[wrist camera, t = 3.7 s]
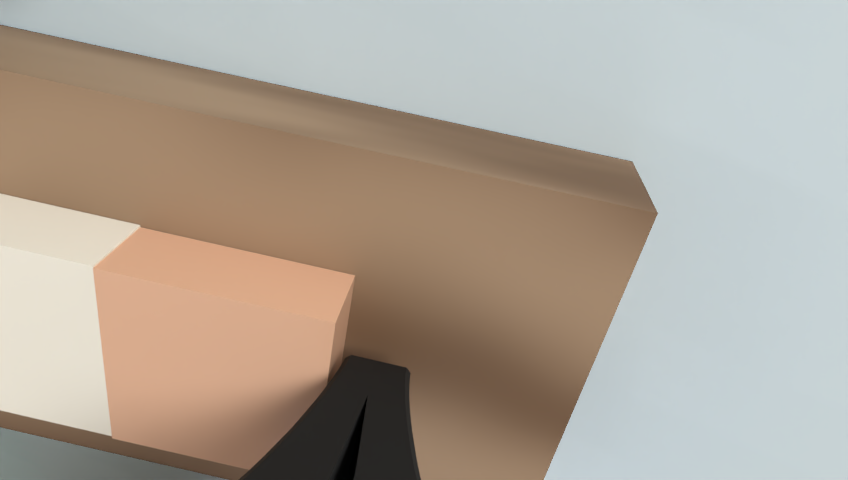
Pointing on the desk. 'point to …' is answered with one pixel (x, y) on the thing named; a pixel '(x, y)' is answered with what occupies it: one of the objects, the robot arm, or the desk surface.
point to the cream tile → (53, 312)
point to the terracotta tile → (214, 344)
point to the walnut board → (350, 231)
